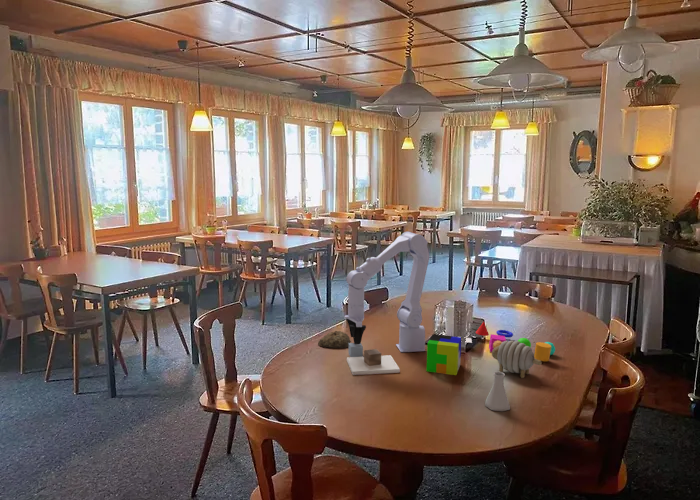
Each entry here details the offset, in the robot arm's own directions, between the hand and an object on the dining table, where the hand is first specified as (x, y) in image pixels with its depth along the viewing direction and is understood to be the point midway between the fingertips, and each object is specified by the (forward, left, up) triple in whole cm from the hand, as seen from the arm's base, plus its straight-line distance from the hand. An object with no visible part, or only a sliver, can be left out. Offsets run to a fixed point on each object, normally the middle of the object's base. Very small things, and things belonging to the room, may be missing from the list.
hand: (355, 340), depth 192 cm
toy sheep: (-50, +24, -6) cm, 56 cm away
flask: (-34, +46, -6) cm, 58 cm away
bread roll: (+5, -14, -6) cm, 16 cm away
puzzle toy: (-28, +16, -6) cm, 33 cm away
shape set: (-57, +2, -6) cm, 57 cm away
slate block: (0, 0, -6) cm, 6 cm away
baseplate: (-4, +11, -6) cm, 13 cm away
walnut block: (-4, +11, -4) cm, 13 cm away
